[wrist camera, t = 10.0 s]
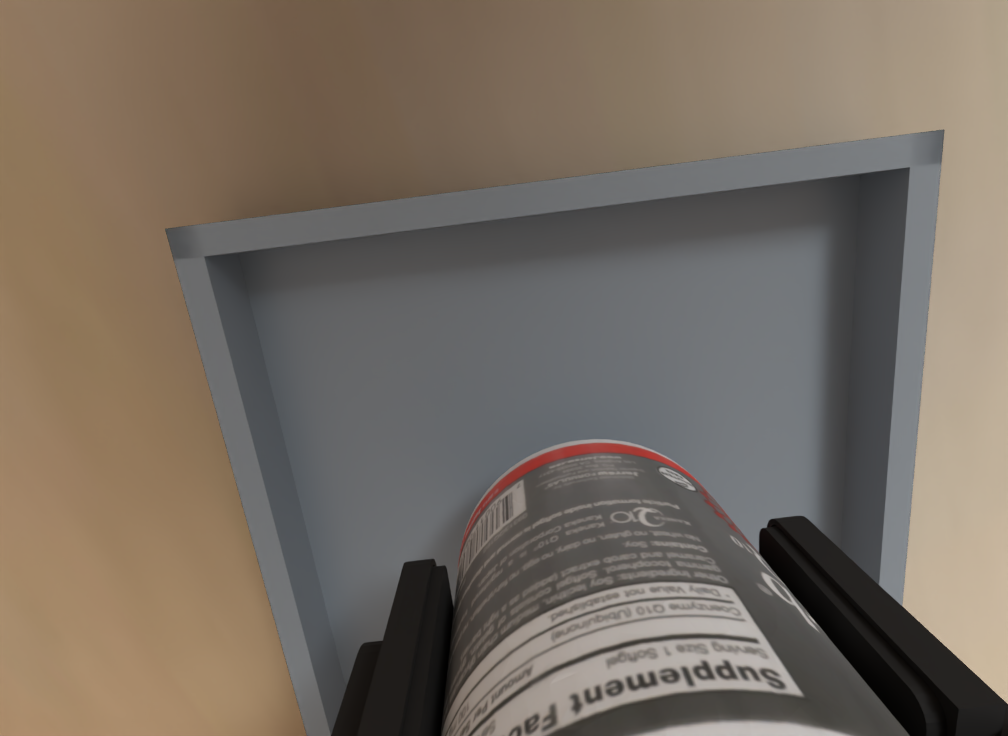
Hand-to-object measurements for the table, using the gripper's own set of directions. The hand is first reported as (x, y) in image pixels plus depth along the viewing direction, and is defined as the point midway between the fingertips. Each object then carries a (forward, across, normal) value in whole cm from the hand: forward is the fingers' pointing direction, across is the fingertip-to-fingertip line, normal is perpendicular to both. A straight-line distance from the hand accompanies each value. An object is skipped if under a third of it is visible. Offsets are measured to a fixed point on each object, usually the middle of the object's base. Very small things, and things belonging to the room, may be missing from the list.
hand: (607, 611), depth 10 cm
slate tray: (+4, 0, 0) cm, 4 cm away
